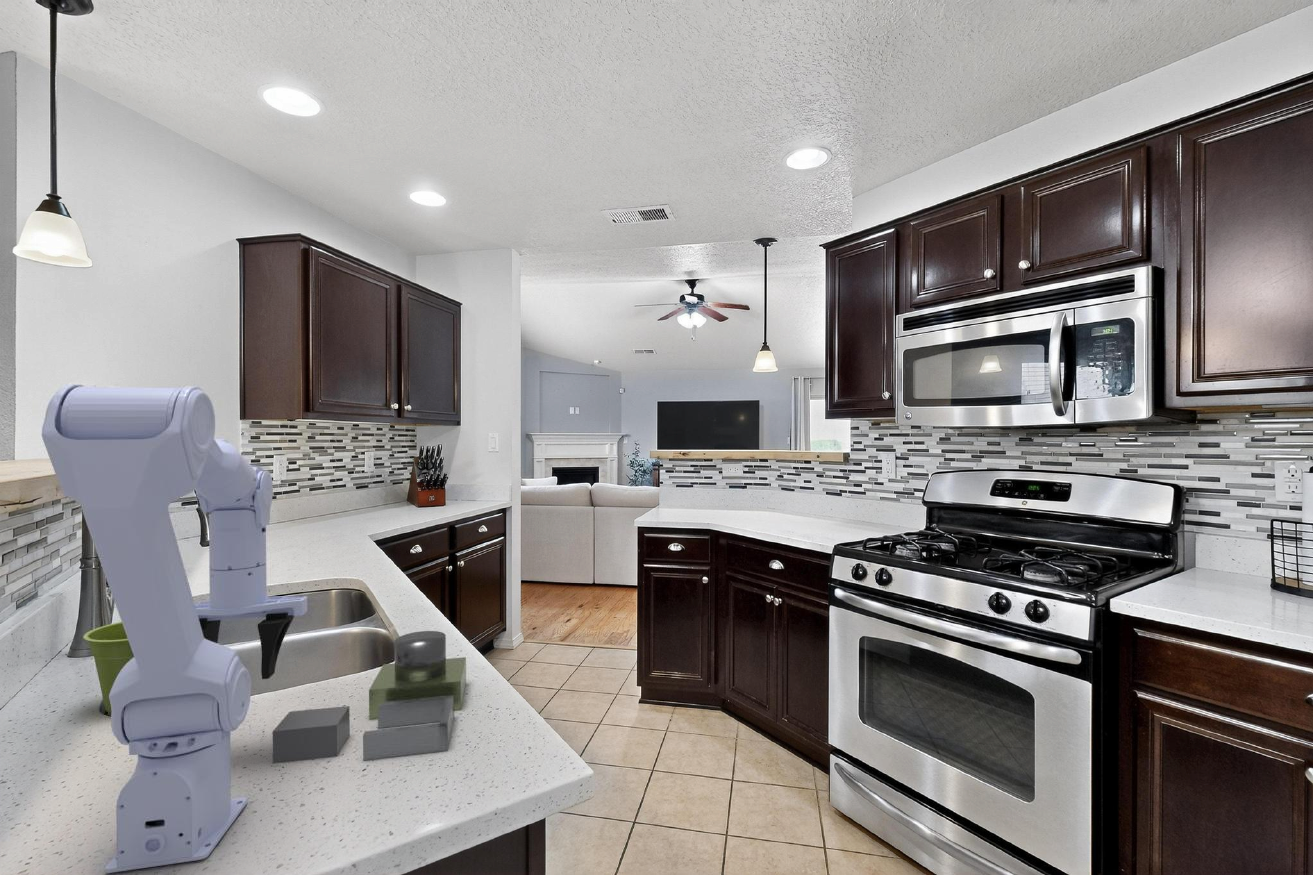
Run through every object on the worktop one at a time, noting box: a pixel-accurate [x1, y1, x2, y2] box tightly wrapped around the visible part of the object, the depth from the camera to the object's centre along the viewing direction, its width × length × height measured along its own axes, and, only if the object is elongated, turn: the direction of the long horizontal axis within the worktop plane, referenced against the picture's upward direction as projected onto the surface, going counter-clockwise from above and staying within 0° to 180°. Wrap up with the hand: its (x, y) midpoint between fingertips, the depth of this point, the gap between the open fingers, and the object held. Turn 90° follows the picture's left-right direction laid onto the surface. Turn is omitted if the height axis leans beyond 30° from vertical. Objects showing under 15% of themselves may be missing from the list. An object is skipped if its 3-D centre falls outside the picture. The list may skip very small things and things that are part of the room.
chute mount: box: [362, 630, 467, 762], centre depth 85 cm, size 22×12×9 cm, turn 13°
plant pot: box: [82, 621, 134, 714], centre depth 91 cm, size 12×12×11 cm
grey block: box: [272, 705, 351, 764], centre depth 77 cm, size 6×7×4 cm
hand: (239, 678), depth 75 cm, fingers open, 6 cm apart
